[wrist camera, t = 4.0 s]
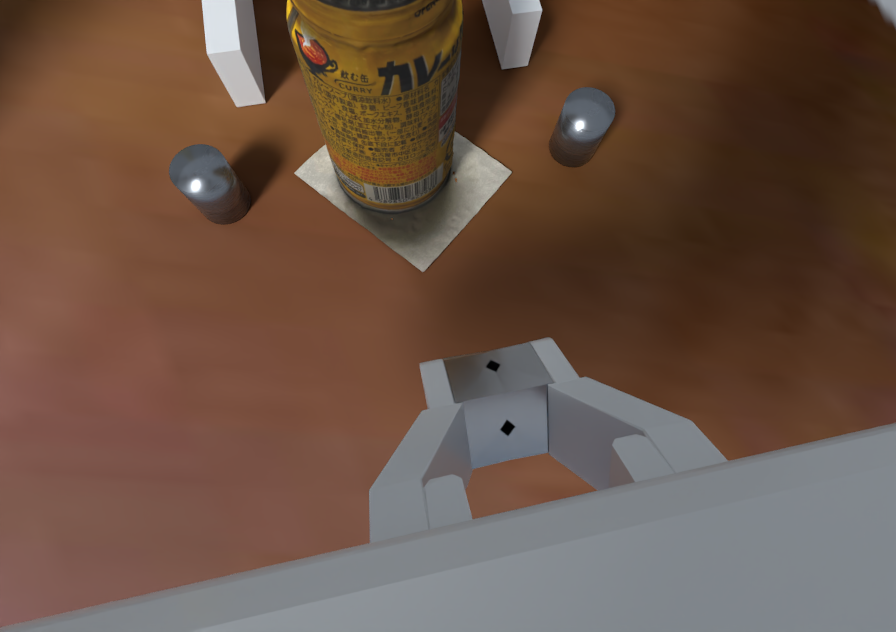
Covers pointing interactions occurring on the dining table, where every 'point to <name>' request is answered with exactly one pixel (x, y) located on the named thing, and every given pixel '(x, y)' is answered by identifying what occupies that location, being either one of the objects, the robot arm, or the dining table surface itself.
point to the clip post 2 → (581, 126)
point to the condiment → (391, 119)
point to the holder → (239, 61)
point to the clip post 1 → (210, 183)
